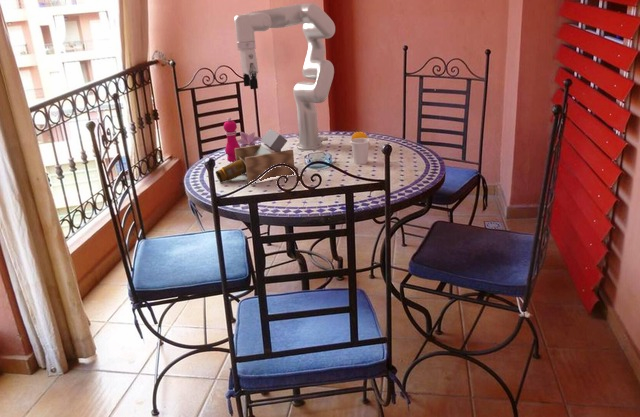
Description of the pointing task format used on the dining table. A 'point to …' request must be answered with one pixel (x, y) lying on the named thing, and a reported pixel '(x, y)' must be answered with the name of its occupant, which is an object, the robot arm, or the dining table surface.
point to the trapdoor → (271, 143)
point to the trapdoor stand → (265, 162)
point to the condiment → (231, 171)
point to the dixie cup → (360, 150)
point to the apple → (359, 135)
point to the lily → (248, 139)
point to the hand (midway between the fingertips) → (251, 87)
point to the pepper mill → (231, 139)
